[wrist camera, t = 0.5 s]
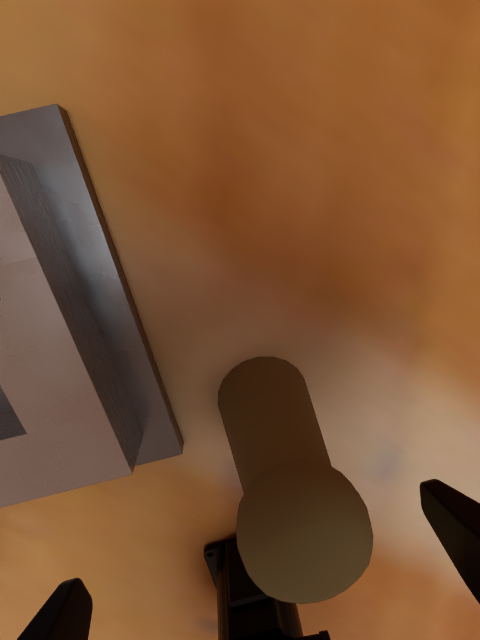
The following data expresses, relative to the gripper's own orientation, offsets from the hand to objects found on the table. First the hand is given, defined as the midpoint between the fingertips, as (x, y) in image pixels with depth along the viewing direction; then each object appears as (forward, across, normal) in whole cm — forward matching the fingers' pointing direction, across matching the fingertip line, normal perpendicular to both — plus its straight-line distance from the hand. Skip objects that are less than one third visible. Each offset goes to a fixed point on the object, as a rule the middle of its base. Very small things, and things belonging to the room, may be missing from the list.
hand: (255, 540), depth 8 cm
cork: (+13, -2, +4) cm, 13 cm away
